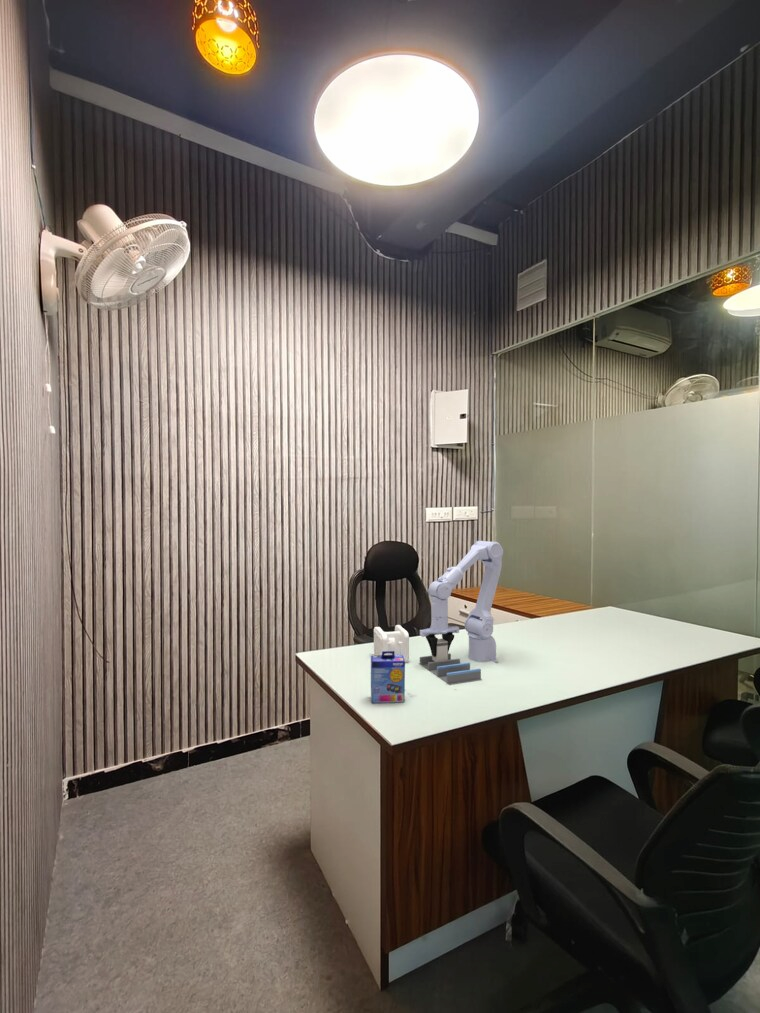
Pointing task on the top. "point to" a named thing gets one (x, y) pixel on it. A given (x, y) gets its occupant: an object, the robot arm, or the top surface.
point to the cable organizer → (392, 642)
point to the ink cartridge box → (387, 678)
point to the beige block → (441, 650)
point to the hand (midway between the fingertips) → (439, 655)
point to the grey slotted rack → (451, 670)
